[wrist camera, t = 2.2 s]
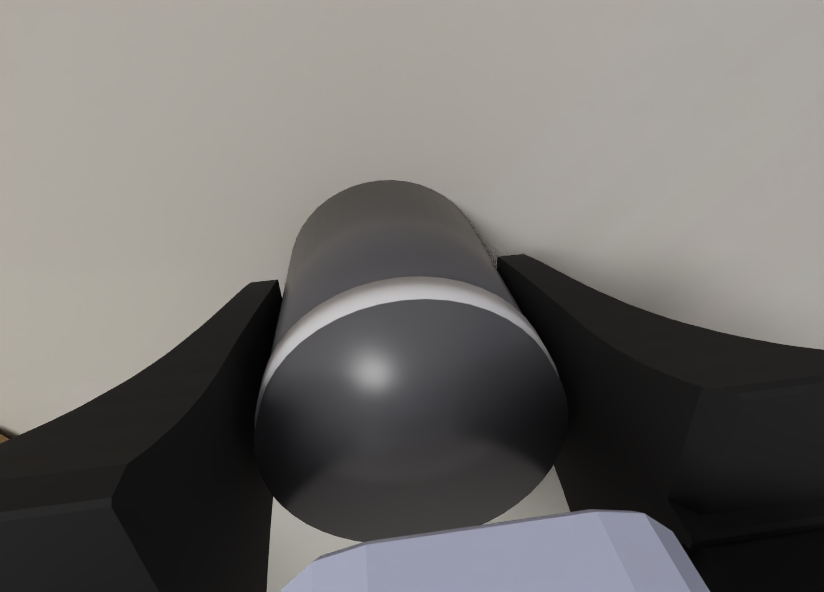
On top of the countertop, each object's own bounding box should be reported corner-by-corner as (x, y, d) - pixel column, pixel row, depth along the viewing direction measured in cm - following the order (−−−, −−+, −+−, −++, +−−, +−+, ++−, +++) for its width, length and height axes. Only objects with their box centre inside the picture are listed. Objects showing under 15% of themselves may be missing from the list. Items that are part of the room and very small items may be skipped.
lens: (484, 169, 12) (589, 291, 7) (481, 341, 15) (556, 524, 9) (270, 188, 12) (211, 333, 7) (306, 361, 14) (284, 563, 9)
